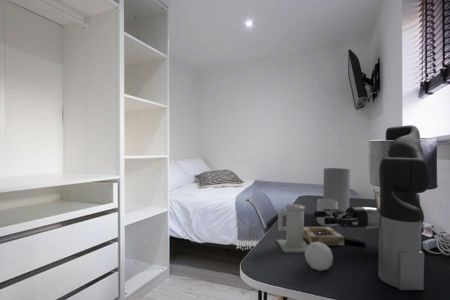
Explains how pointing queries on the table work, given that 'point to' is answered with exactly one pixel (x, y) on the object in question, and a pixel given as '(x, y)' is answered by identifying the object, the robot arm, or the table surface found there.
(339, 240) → the stand
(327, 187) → the cylinder vase
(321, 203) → the mug
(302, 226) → the jug
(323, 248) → the geometric ball
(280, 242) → the mat
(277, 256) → the table surface
